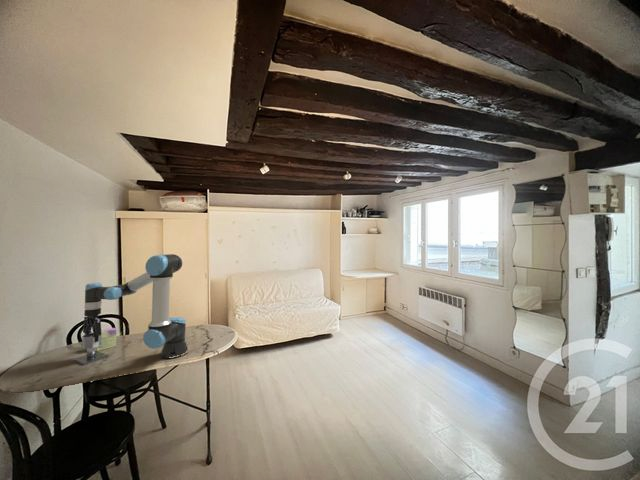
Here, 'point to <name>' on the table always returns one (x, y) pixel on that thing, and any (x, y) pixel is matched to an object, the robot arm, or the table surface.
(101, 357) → the shaft stand
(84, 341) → the hub
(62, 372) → the table surface
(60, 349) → the table surface
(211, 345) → the table surface
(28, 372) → the table surface
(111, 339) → the box
